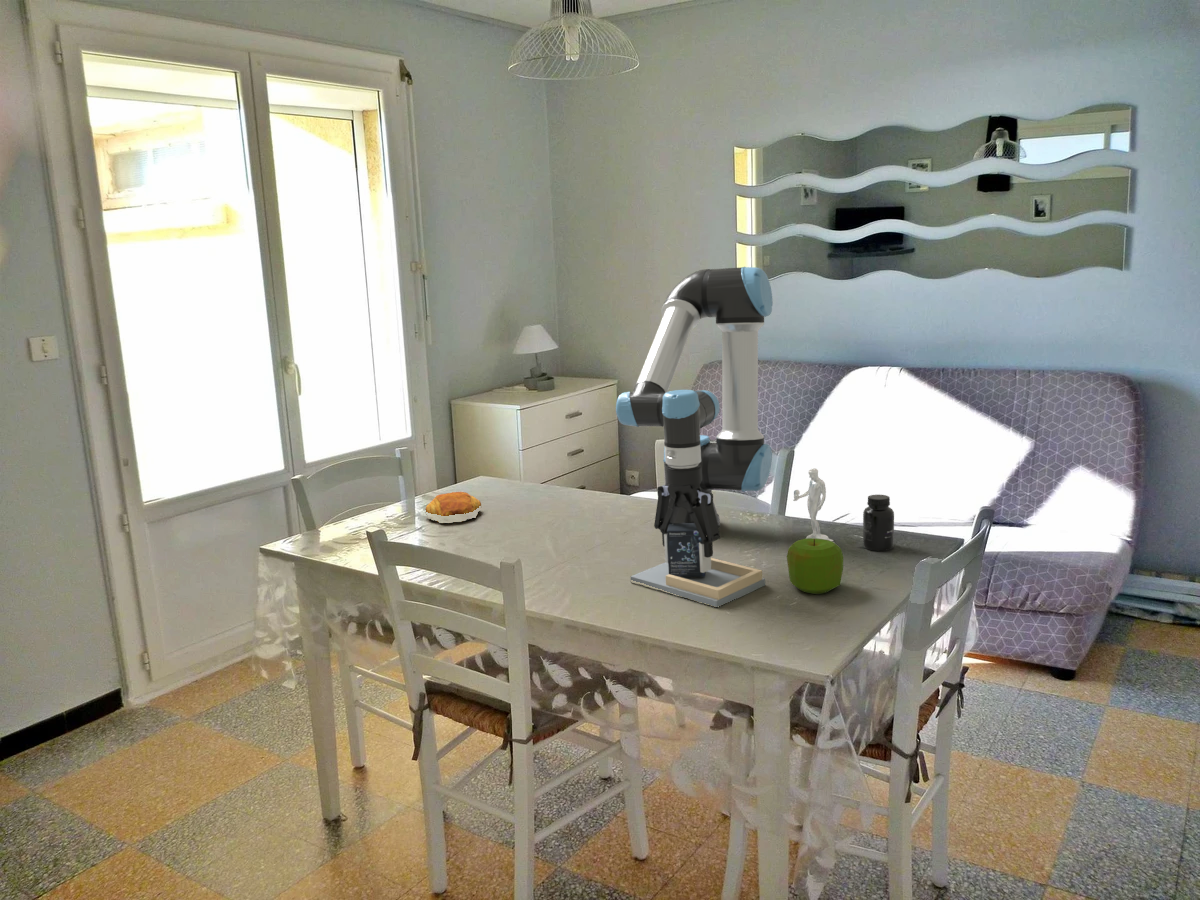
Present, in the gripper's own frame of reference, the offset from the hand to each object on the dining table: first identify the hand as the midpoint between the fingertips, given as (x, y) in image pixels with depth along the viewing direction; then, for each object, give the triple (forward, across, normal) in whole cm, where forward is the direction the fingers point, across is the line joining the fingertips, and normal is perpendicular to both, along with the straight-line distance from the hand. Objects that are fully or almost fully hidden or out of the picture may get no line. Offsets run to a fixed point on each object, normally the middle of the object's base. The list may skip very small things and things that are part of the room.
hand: (688, 565), depth 205 cm
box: (+2, 0, 0) cm, 2 cm away
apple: (+4, +23, +13) cm, 27 cm away
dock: (+4, +2, 0) cm, 4 cm away
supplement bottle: (+4, +20, +43) cm, 48 cm away
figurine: (+4, +6, +38) cm, 39 cm away
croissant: (+4, -87, -1) cm, 87 cm away
